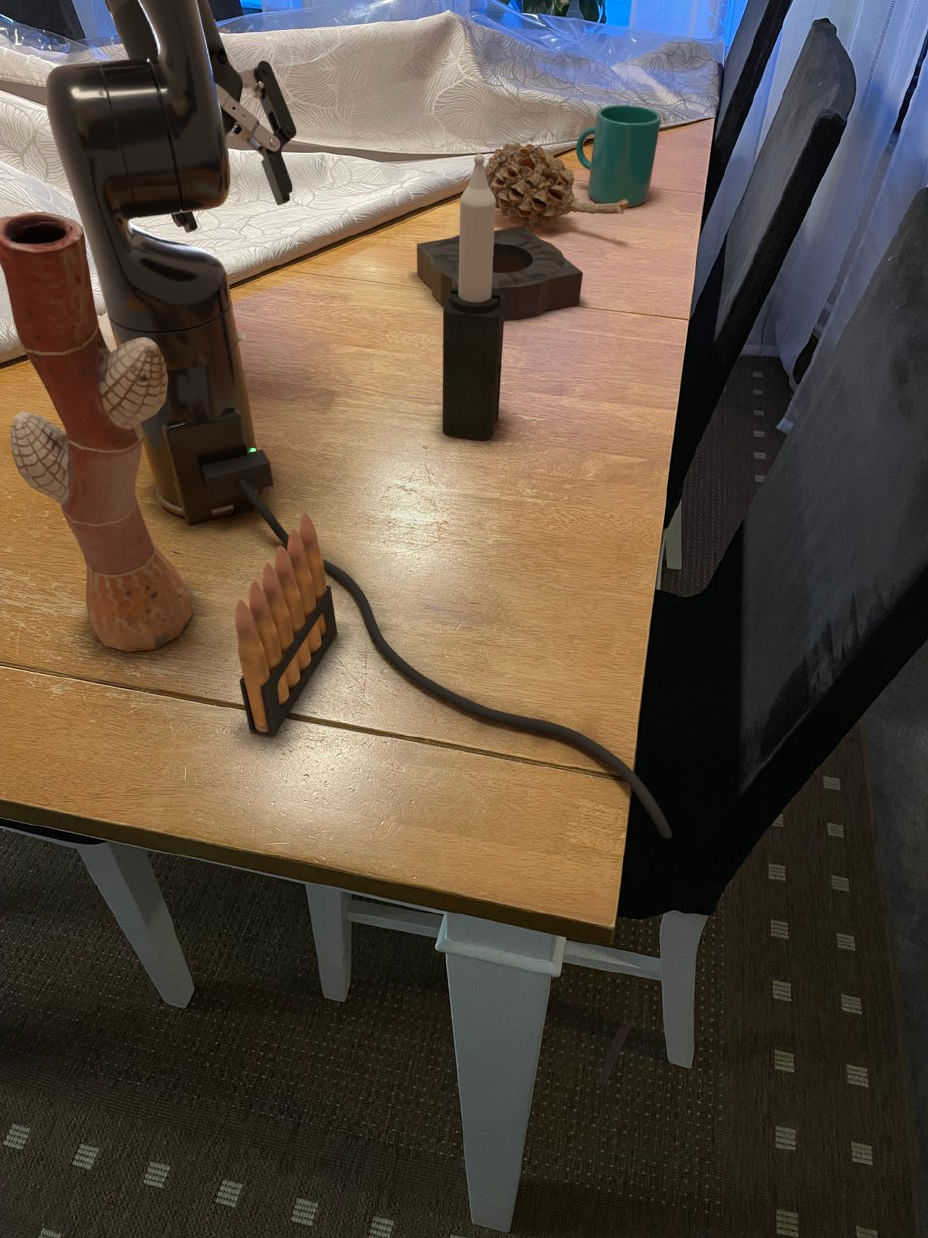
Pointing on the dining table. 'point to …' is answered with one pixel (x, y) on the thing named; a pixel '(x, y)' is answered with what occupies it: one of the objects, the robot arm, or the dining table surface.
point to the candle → (473, 321)
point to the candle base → (508, 272)
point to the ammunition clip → (284, 630)
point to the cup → (621, 153)
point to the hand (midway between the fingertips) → (239, 216)
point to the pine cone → (536, 186)
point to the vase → (90, 430)
